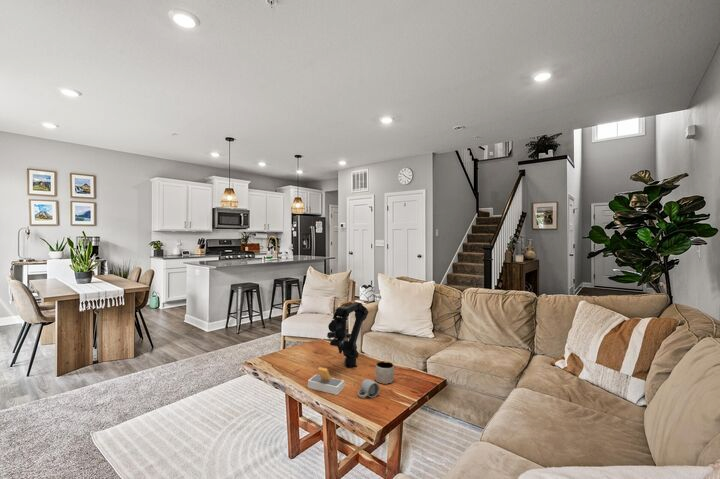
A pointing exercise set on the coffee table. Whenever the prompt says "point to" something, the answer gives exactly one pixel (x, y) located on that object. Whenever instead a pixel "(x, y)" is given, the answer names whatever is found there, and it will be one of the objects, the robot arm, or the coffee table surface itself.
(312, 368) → the coffee table surface
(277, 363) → the coffee table surface
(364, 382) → the ceramic mug
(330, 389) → the breaker housing
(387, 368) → the planter
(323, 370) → the lever
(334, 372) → the coffee table surface
